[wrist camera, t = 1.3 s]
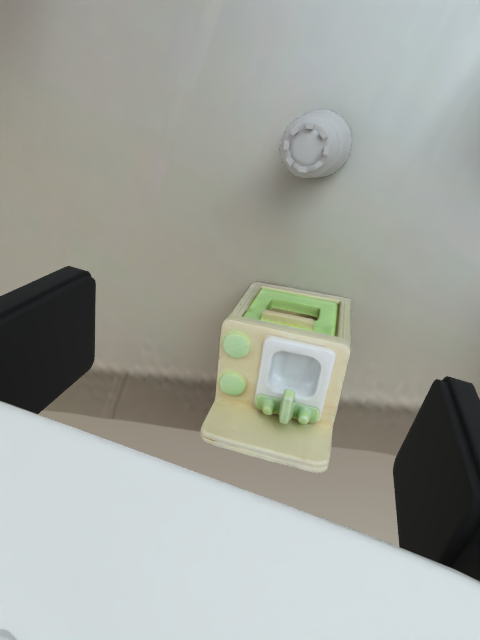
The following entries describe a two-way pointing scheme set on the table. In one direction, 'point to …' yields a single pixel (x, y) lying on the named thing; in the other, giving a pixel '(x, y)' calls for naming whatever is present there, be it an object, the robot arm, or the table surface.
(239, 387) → the toy sink
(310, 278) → the table surface
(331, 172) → the rook chess piece
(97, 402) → the table surface
